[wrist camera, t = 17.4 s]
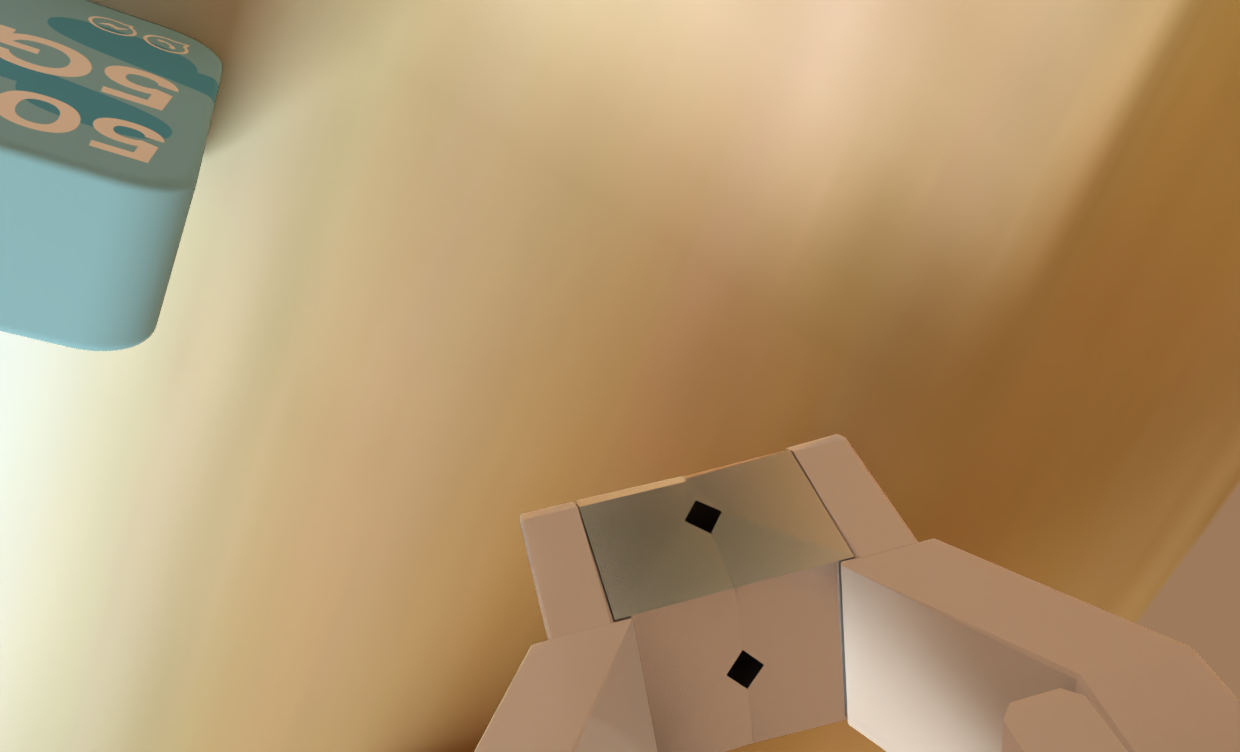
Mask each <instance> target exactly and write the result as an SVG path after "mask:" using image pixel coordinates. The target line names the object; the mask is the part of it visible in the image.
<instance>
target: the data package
mask: <svg viewBox="0 0 1240 752" xmlns="http://www.w3.org/2000/svg"><path fill="white" fill-rule="evenodd" d="M221 75H222V63H221V61H220V59H219V58H218V56H217V55H216V54H215V53H214V52H213V51H211V50H210V49H209V48H208V47H206V46H205V45H203V44H201V43H200V42H198V41H196V40H194V39H192V38H190V37H188V36H186V35H183V34H181V33H179V32H176V31H173V30H171V29H168V28H165V27H162V26H159V25H156V24H153V23H150V22H147V21H144V20H142V19H139V18H136V17H133V16H130V15H127V14H124V13H121V12H118V11H115V10H112V9H110V8H107V7H104V6H101V5H98V4H95V3H92V2H89V1H86V0H0V331H4V332H8V333H12V334H16V335H20V336H25V337H29V338H33V339H37V340H42V341H46V342H50V343H54V344H58V345H63V346H67V347H72V348H77V349H83V350H92V351H114V350H121V349H126V348H130V347H133V346H136V345H138V344H140V343H142V342H144V341H145V340H146V339H147V338H149V337H150V336H151V334H152V333H153V332H154V330H155V327H156V325H157V321H158V318H159V314H160V311H161V307H162V303H163V300H164V296H165V293H166V289H167V286H168V282H169V279H170V275H171V272H172V268H173V264H174V261H175V257H176V254H177V250H178V247H179V243H180V240H181V236H182V233H183V229H184V225H185V222H186V218H187V215H188V211H189V208H190V204H191V201H192V197H193V194H194V190H195V186H196V183H197V179H198V175H199V170H200V166H201V162H202V157H203V153H204V149H205V144H206V140H207V135H208V131H209V127H210V122H211V118H212V114H213V109H214V105H215V101H216V96H217V92H218V88H219V83H220V79H221Z"/></svg>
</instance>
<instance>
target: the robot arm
mask: <svg viewBox="0 0 1240 752" xmlns="http://www.w3.org/2000/svg"><path fill="white" fill-rule="evenodd" d="M520 525H521V530H522V534H523V538H524V542H525V546H526V551H527V555H528V559H529V563H530V567H531V572H532V576H533V580H534V584H535V588H536V593H537V597H538V601H539V605H540V609H541V614H542V618H543V622H544V626H545V631H546V635H547V639H548V640H546V641H543V642H539V643H535V644H532V645H531V646H530V648H529V650H528V652H527V654H526V656H525V658H524V659H523V661H522V663H521V665H520V667H519V669H518V671H517V672H516V674H515V676H514V678H513V680H512V682H511V684H510V686H509V687H508V689H507V691H506V693H505V695H504V697H503V699H502V700H501V702H500V704H499V706H498V708H497V710H496V712H495V713H494V715H493V717H492V719H491V721H490V723H489V725H488V726H487V728H486V730H485V732H484V734H483V736H482V738H481V739H480V741H479V743H478V745H477V747H476V749H475V751H474V752H726V751H729V750H732V749H736V748H739V747H742V746H745V745H748V744H752V743H753V742H754V743H756V742H760V741H764V740H767V739H771V738H775V737H779V736H783V735H787V734H791V733H795V732H799V731H803V730H807V729H811V728H815V727H819V726H823V725H827V724H831V723H835V722H839V721H843V720H847V719H848V724H849V725H850V726H852V727H853V728H854V729H856V730H857V731H859V732H860V733H861V734H863V735H864V736H866V737H867V738H868V739H870V740H871V741H873V742H874V743H875V744H877V745H878V746H880V747H881V748H882V749H884V750H885V751H887V752H1240V701H1239V700H1238V699H1237V697H1236V696H1235V695H1234V694H1233V693H1232V692H1231V691H1230V690H1229V689H1228V687H1227V686H1226V685H1225V684H1224V683H1223V682H1222V681H1221V679H1220V678H1219V677H1218V676H1217V675H1216V674H1215V673H1214V672H1213V671H1212V669H1211V668H1210V667H1209V666H1208V665H1207V664H1206V663H1205V662H1204V661H1203V659H1202V658H1201V657H1200V656H1199V655H1198V654H1197V652H1196V651H1195V650H1194V649H1193V648H1192V647H1189V646H1187V645H1185V644H1183V643H1180V642H1178V641H1175V640H1173V639H1171V638H1168V637H1166V636H1164V635H1161V634H1159V633H1156V632H1154V631H1152V630H1150V629H1147V628H1145V627H1142V626H1140V625H1138V624H1135V623H1133V622H1131V621H1128V620H1126V619H1124V618H1121V617H1119V616H1117V615H1114V614H1112V613H1110V612H1107V611H1105V610H1102V609H1100V608H1098V607H1095V606H1093V605H1091V604H1088V603H1086V602H1084V601H1081V600H1079V599H1077V598H1074V597H1072V596H1069V595H1067V594H1065V593H1062V592H1060V591H1058V590H1055V589H1053V588H1051V587H1048V586H1046V585H1043V584H1041V583H1039V582H1036V581H1034V580H1032V579H1029V578H1027V577H1025V576H1022V575H1020V574H1018V573H1015V572H1013V571H1010V570H1008V569H1006V568H1003V567H1001V566H999V565H996V564H994V563H992V562H989V561H987V560H985V559H982V558H980V557H977V556H975V555H973V554H970V553H968V552H966V551H963V550H961V549H959V548H956V547H954V546H952V545H949V544H947V543H944V542H942V541H940V540H937V539H935V538H932V539H928V540H925V541H921V542H918V541H917V539H916V538H915V536H914V535H913V533H912V532H911V531H910V529H909V528H908V526H907V525H906V523H905V522H904V520H903V519H902V518H901V516H900V515H899V513H898V512H897V510H896V509H895V508H894V506H893V505H892V503H891V502H890V500H889V499H888V497H887V496H886V495H885V493H884V492H883V490H882V489H881V487H880V486H879V485H878V483H877V482H876V480H875V479H874V477H873V476H872V474H871V473H870V472H869V470H868V469H867V467H866V466H865V464H864V463H863V462H862V460H861V459H860V457H859V456H858V454H857V453H856V451H855V450H854V449H853V447H852V446H851V444H850V443H849V441H848V440H847V439H846V438H845V437H843V436H841V435H839V434H835V435H831V436H827V437H824V438H820V439H817V440H813V441H810V442H806V443H802V444H799V445H795V446H792V447H788V448H786V450H784V451H779V452H775V453H771V454H767V455H764V456H760V457H756V458H752V459H748V460H744V461H740V462H736V463H732V464H729V465H725V466H721V467H717V468H713V469H709V470H705V471H701V472H698V473H694V474H690V475H686V476H679V477H675V478H671V479H666V480H662V481H658V482H653V483H649V484H644V485H640V486H636V487H631V488H627V489H623V490H618V491H614V492H609V493H605V494H601V495H596V496H592V497H588V498H583V499H579V500H576V505H575V503H573V502H568V503H564V504H560V505H556V506H551V507H547V508H543V509H539V510H535V511H531V512H526V513H522V514H520Z"/></svg>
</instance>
